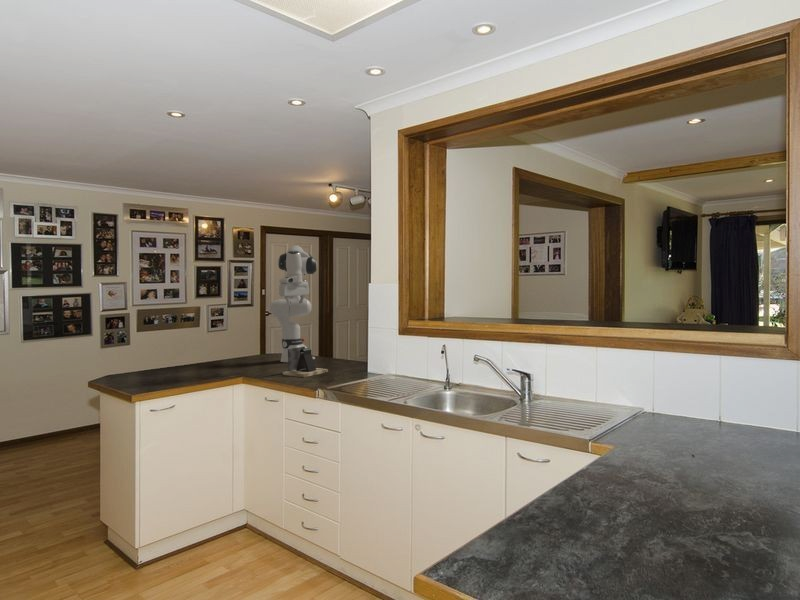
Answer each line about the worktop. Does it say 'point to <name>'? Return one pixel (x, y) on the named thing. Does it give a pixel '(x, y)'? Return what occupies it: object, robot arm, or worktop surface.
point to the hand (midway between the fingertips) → (295, 304)
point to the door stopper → (306, 361)
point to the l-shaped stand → (293, 362)
